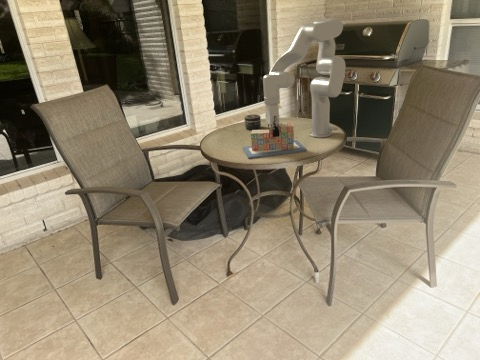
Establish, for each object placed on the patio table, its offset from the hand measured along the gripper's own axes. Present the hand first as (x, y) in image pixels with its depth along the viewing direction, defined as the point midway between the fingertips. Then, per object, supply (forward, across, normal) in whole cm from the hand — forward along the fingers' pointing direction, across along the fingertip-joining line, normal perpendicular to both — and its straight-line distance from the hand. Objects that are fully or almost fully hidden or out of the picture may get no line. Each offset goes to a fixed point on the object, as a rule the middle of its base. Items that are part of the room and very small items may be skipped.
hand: (273, 133), depth 188 cm
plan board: (+9, 0, 0) cm, 9 cm away
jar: (+9, -44, -2) cm, 45 cm away
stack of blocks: (+8, 0, -1) cm, 8 cm away
